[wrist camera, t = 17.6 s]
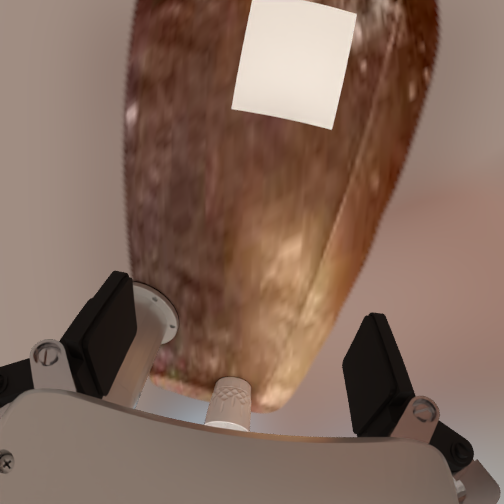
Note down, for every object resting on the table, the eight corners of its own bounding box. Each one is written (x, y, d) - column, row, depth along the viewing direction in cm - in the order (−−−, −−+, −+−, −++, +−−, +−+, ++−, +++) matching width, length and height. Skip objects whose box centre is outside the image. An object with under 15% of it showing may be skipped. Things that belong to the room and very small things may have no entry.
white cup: (205, 377, 53) (194, 422, 44) (243, 371, 50) (235, 419, 42) (225, 399, 56) (217, 441, 47) (261, 393, 54) (256, 438, 45)
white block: (318, 118, 29) (331, 129, 21) (245, 103, 29) (231, 108, 21) (337, 32, 24) (356, 14, 16) (262, 17, 24) (254, -8, 16)
